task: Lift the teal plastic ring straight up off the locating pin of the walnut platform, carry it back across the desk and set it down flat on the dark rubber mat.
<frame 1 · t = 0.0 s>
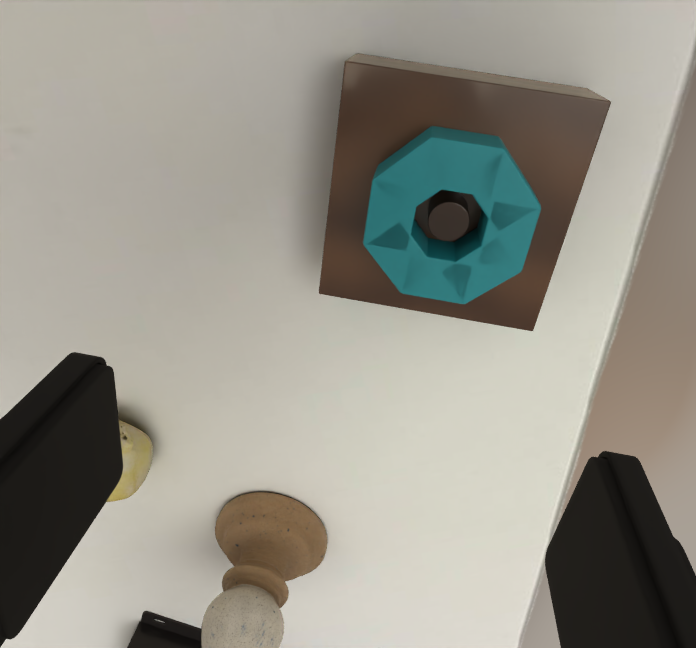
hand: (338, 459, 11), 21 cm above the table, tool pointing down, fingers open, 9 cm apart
fruit: (121, 443, 42), on the table
ring: (447, 209, 26), point 4 cm above the table, touching platform
platform: (446, 184, 29), on the table
candle holder: (273, 528, 45), on the table
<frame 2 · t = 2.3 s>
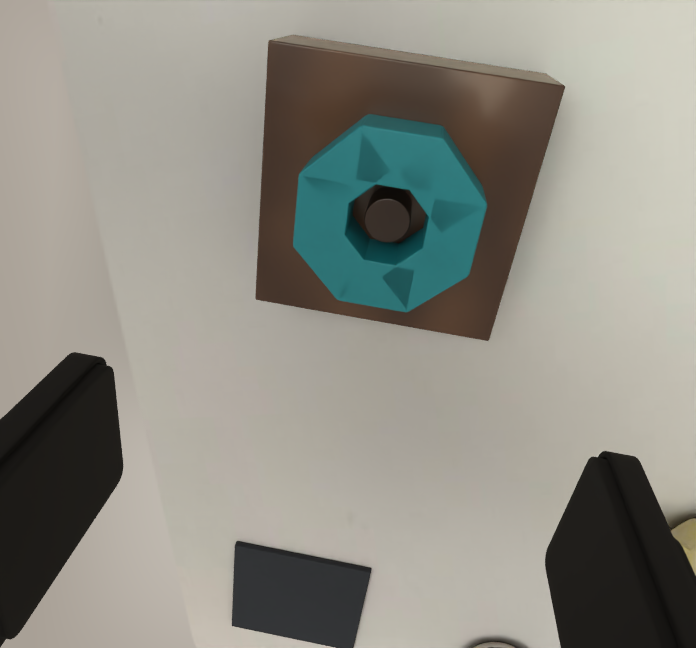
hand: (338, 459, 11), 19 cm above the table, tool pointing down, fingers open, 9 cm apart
ring: (390, 206, 23), point 4 cm above the table, touching platform
platform: (395, 180, 27), on the table
mat: (297, 596, 44), on the table
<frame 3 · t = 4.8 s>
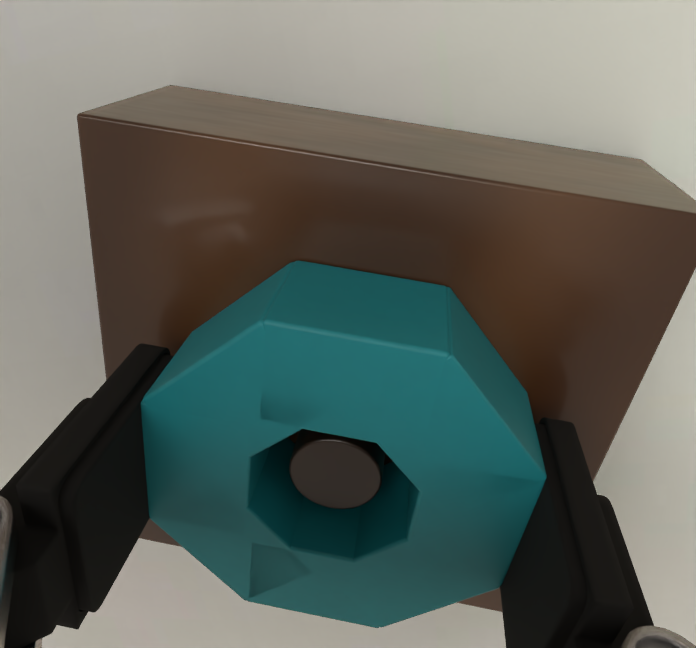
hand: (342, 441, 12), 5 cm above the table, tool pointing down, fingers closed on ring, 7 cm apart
ring: (347, 416, 12), point 4 cm above the table, touching gripper, platform
platform: (366, 325, 16), on the table
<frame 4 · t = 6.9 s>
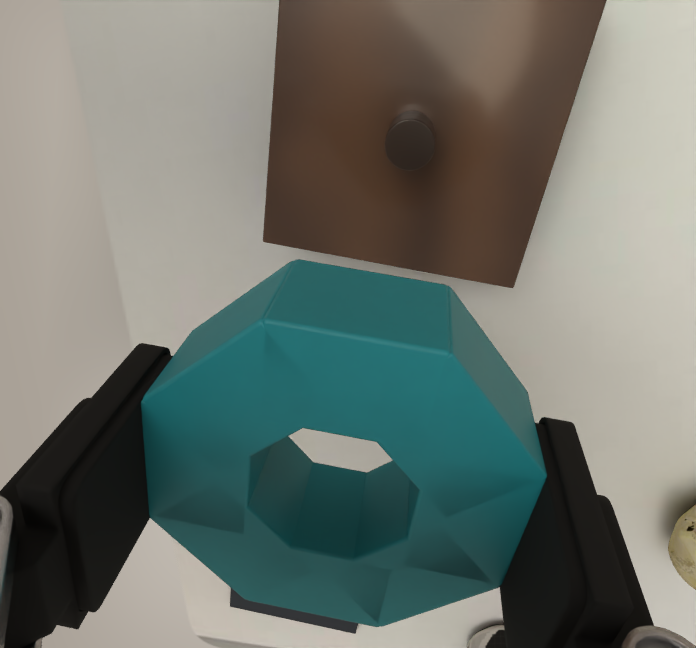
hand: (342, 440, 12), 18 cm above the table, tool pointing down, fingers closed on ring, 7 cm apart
ring: (348, 415, 12), point 17 cm above the table, touching gripper
platform: (415, 117, 25), on the table
beverage can: (505, 638, 43), on the table
mat: (299, 575, 42), on the table
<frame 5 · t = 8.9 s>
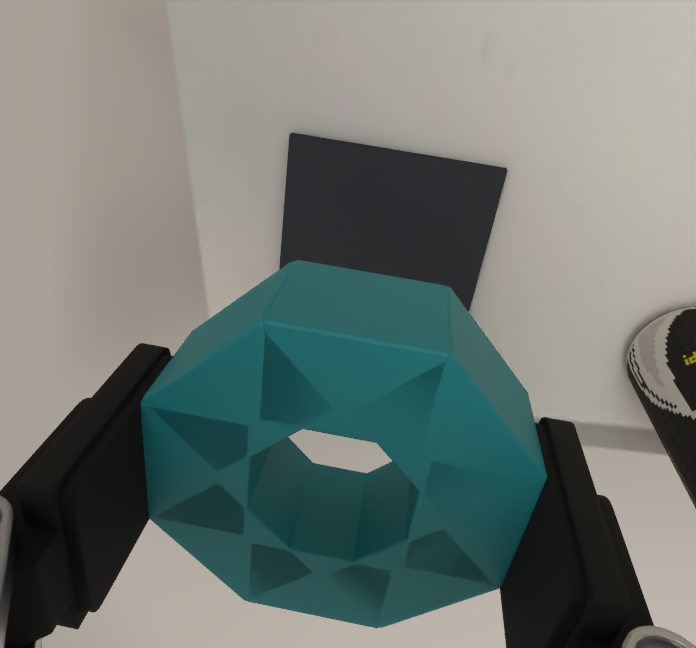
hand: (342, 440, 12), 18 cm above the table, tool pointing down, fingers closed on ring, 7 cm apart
ring: (347, 416, 12), point 17 cm above the table, touching gripper
beverage can: (680, 346, 29), on the table
mat: (380, 250, 28), on the table
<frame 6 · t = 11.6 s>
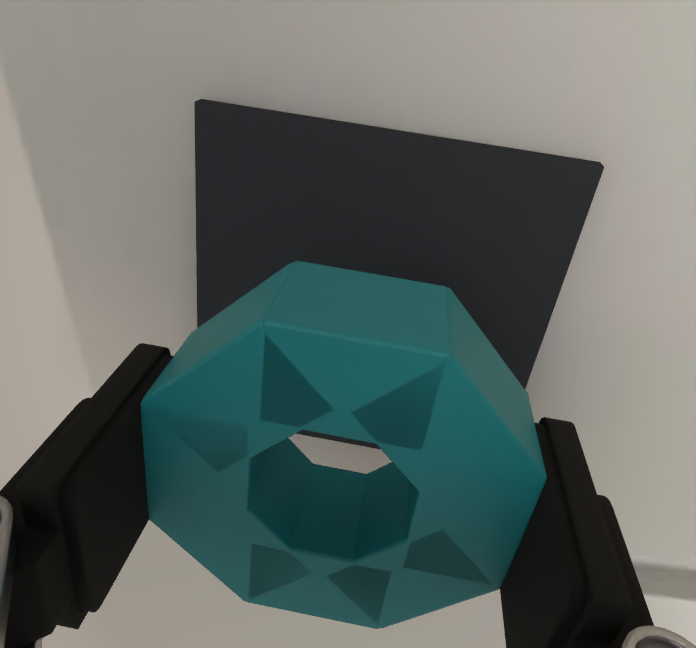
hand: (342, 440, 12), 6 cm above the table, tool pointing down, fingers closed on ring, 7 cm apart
ring: (347, 417, 12), point 5 cm above the table, touching gripper
mat: (367, 306, 16), on the table
when the fingers open (1 cm above the table, at t = 13.4 s): ring stays where it is, resting on mat.
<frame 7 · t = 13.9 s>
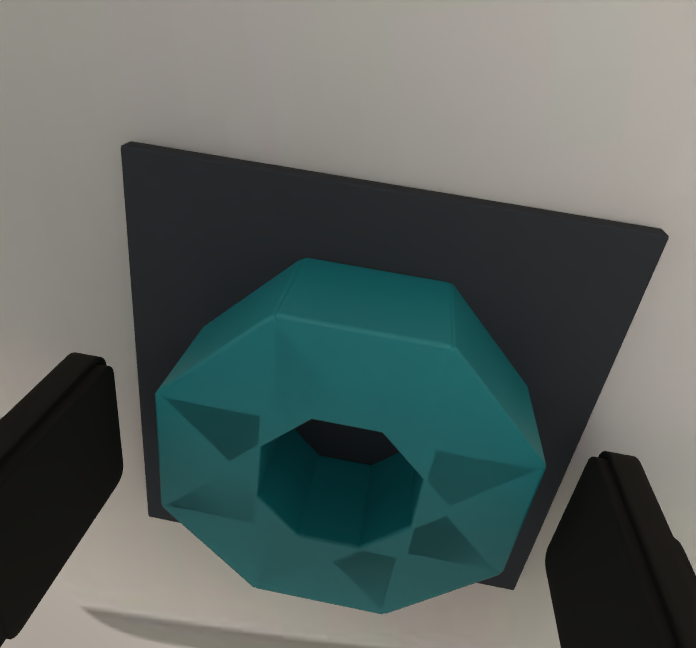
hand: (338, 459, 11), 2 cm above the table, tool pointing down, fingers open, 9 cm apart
ring: (353, 409, 13), resting on mat
mat: (353, 396, 13), on the table
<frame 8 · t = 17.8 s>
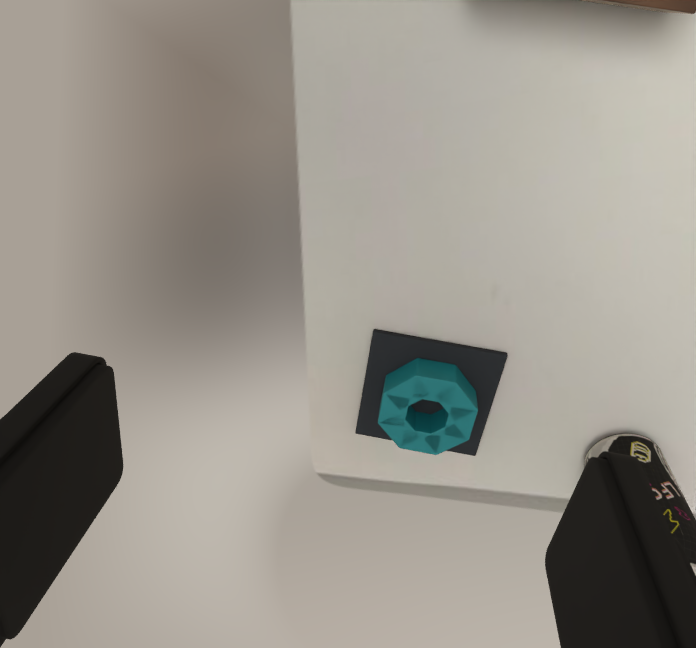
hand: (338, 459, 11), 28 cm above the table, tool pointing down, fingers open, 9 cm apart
ring: (427, 397, 44), resting on mat
beverage can: (619, 453, 45), on the table
mat: (426, 393, 45), on the table
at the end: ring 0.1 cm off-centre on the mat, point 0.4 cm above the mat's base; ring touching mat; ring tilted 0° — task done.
